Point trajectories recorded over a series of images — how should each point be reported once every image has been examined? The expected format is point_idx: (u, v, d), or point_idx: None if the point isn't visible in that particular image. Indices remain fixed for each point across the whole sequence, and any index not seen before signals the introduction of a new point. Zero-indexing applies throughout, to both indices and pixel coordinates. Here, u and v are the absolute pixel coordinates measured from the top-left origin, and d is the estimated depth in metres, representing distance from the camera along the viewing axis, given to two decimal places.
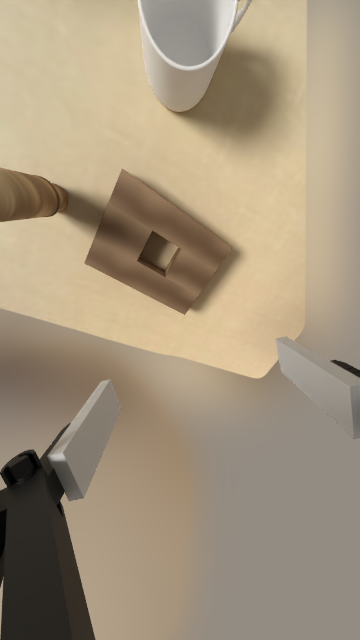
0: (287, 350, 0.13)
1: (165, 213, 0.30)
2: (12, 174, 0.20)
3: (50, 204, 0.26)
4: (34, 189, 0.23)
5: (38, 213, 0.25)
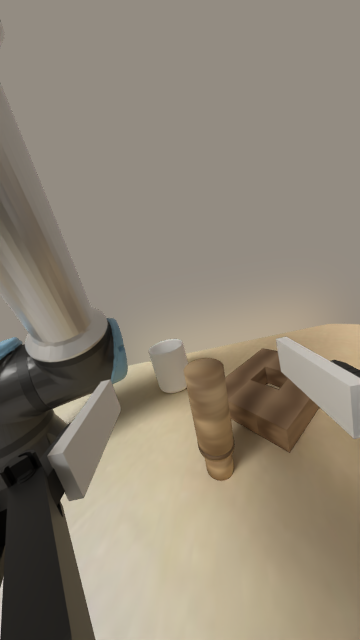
0: (287, 350, 0.13)
1: (238, 374, 0.42)
2: None
3: None
4: None
5: None
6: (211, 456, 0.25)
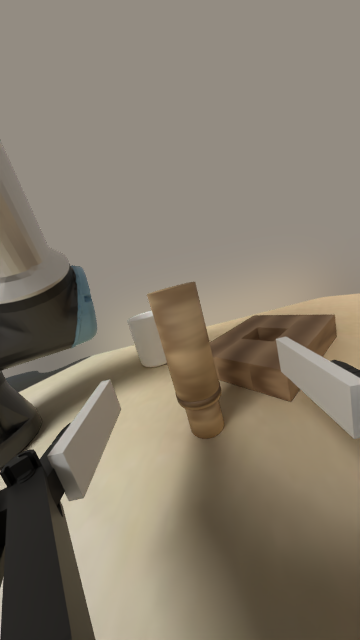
0: (287, 350, 0.13)
1: (227, 336, 0.37)
2: None
3: None
4: None
5: None
6: (191, 402, 0.20)
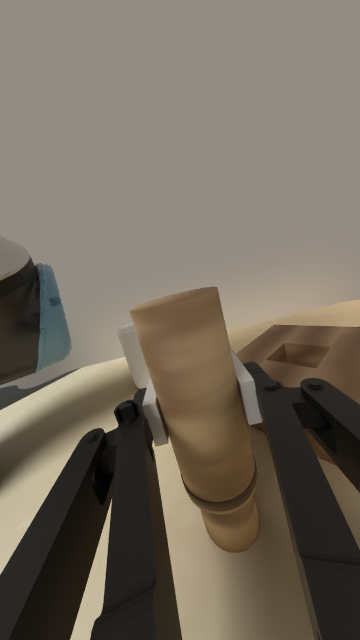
0: None
1: (246, 354, 0.28)
2: None
3: None
4: None
5: None
6: (209, 503, 0.11)
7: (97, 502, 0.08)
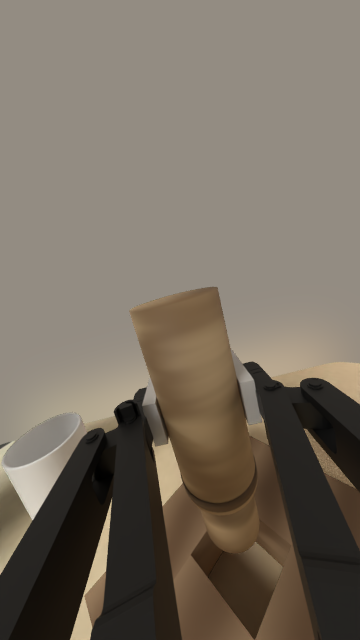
0: None
1: (171, 518, 0.19)
2: None
3: None
4: None
5: None
6: (209, 504, 0.11)
7: (97, 502, 0.08)
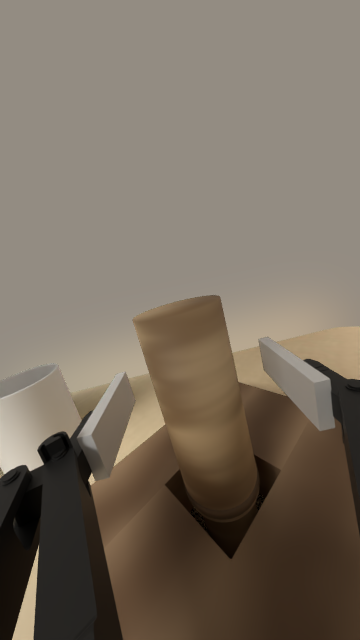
0: (267, 350, 0.14)
1: (147, 455, 0.17)
2: None
3: None
4: None
5: None
6: (212, 511, 0.11)
7: (21, 548, 0.07)
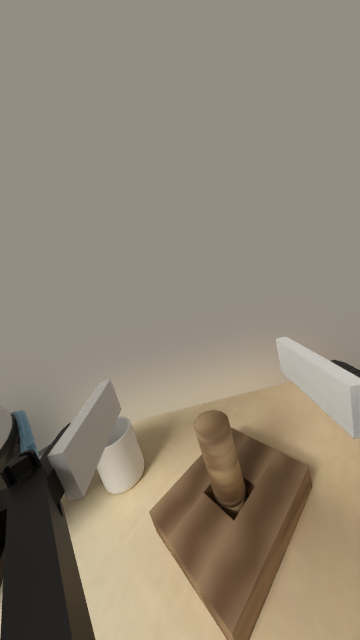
0: (287, 350, 0.13)
1: (191, 477, 0.33)
2: None
3: None
4: None
5: None
6: (226, 503, 0.28)
7: None
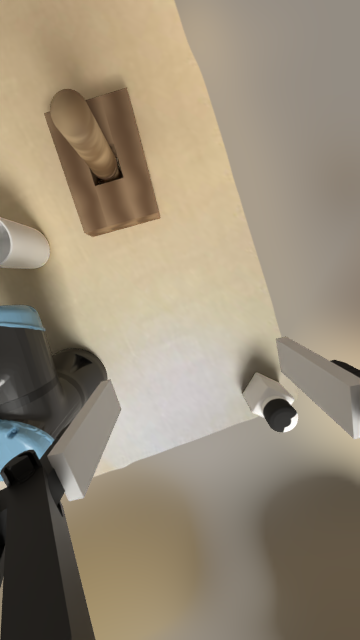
0: (287, 350, 0.13)
1: (77, 187, 0.37)
2: None
3: None
4: None
5: None
6: (113, 173, 0.36)
7: None
